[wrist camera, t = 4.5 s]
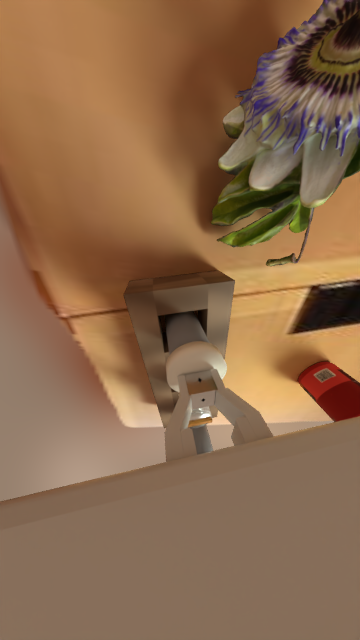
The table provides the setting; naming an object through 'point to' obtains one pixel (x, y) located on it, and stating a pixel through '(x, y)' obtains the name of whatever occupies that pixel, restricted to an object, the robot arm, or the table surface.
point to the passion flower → (294, 129)
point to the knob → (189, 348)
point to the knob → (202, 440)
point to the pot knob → (199, 417)
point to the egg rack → (174, 297)
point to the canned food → (332, 390)
